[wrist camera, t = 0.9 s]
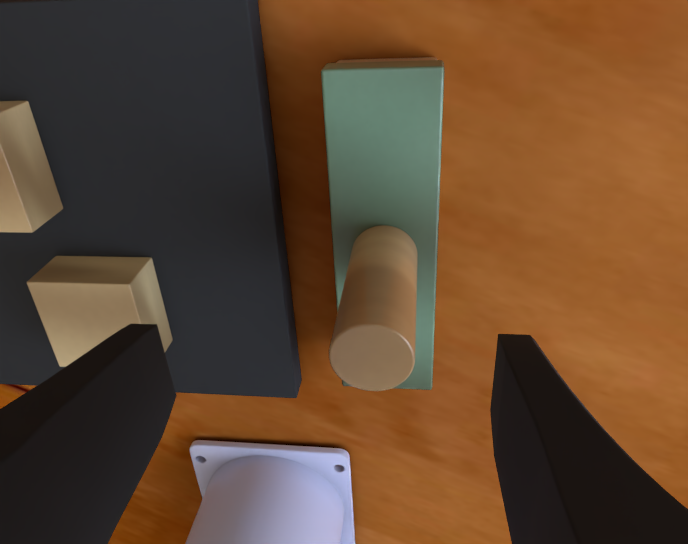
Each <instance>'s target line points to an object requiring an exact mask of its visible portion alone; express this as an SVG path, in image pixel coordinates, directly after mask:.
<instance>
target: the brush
mask: <svg viewBox="0 0 688 544" xmlns="http://www.w3.org/2000/svg"><path fill="white" fill-rule="evenodd" d="M321 79H322V94H323V108H324V123H325V138H326V152H327V167H328V182H329V196H330V211H331V226H332V240H333V255H334V270H335V285H336V299H337V317H336V322H335V326H334V331H333V335H332V339H331V344H330V349H329V360H330V363H331V366H332V368H333V370H334V371H335V373H336V374H337V375H338V376H339V377H340V378H341V379H342V384H343V386H353V387H356V388H359V389H362V390H367V391H382V390H387V389H391V388H400V389H422V390H431V389H432V380H433V354H434V327H435V301H436V275H437V249H438V222H439V196H440V170H441V143H442V117H443V91H444V63H443V61H442V60H437V58H435V57H423V58H389V59H354V60H338V61H337V63H327V64H326V65H325V66H324V68H323V69H322V71H321Z"/></svg>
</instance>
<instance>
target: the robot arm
mask: <svg viewBox="0 0 688 544" xmlns="http://www.w3.org/2000/svg"><path fill="white" fill-rule="evenodd" d="M175 398H176V392H175V389H174V385H173V381H172V378H171V374H170V370H169V367H168V363H167V359H166V356H165V352H164V348H163V344H162V341H161V337H160V333H159V330H158V326H157V324H129V325H127V326H126V327H124V328H122V329H121V330H119V331H118V332H116V333H114V334H113V335H111V336H110V337H108V338H107V339H105V340H104V341H102V342H101V343H100V344H98V345H97V346H95V347H94V348H92V349H91V350H89V351H88V352H87V353H85V354H84V355H82V356H81V357H79V358H78V359H76V360H75V361H73V362H72V363H70V364H69V365H68V366H66V367H65V368H63V369H62V370H60V371H59V372H57V373H56V374H54V375H53V376H51V377H50V378H49V379H47V380H46V381H44V382H42V383H41V384H39V385H38V386H36V387H35V388H33V389H31V390H30V391H28V392H27V393H25V394H24V395H22V396H20V397H19V398H17V399H16V400H14V401H12V402H11V403H9V404H8V405H6V406H5V407H3V408H1V409H0V544H108V542H109V540H110V538H111V536H112V533H113V531H114V529H115V527H116V525H117V523H118V522H119V520H120V518H121V516H122V514H123V512H124V510H125V508H126V506H127V504H128V502H129V500H130V498H131V497H132V495H133V493H134V491H135V489H136V487H137V485H138V483H139V481H140V479H141V477H142V475H143V473H144V472H145V470H146V468H147V466H148V464H149V462H150V460H151V458H152V456H153V454H154V452H155V450H156V448H157V446H158V444H159V442H160V440H161V438H162V435H163V432H164V430H165V427H166V424H167V422H168V419H169V416H170V413H171V410H172V407H173V404H174V401H175ZM491 423H492V435H493V447H494V457H495V462H496V467H497V472H498V477H499V482H500V487H501V492H502V497H503V502H504V507H505V511H506V516H507V521H508V526H509V531H510V536H511V541H512V544H688V509H687V508H686V507H684V506H683V505H682V504H681V503H679V502H678V501H677V500H676V499H675V498H674V497H673V496H671V495H670V494H669V493H668V492H667V491H666V490H664V489H663V488H662V487H661V486H660V485H659V484H658V483H657V482H656V481H655V480H654V479H653V478H651V477H650V476H649V475H648V474H647V473H646V472H645V471H644V470H643V469H642V468H641V467H640V466H639V465H638V464H637V463H636V462H635V461H634V460H633V459H632V458H631V457H630V456H629V455H628V454H627V453H626V452H625V451H624V450H623V449H622V448H621V447H620V446H619V445H618V444H617V443H616V442H615V440H614V439H613V438H612V437H611V436H610V435H609V434H608V433H607V432H606V431H605V430H604V429H603V427H602V426H601V425H600V424H599V423H598V422H597V421H596V419H595V418H594V417H593V416H592V415H591V414H590V412H589V411H588V410H587V409H586V408H585V406H584V405H583V404H582V403H581V402H580V400H579V399H578V398H577V397H576V395H575V394H574V393H573V392H572V391H571V389H570V388H569V387H568V385H567V384H566V383H565V382H564V380H563V379H562V378H561V376H560V375H559V374H558V372H557V371H556V370H555V368H554V367H553V365H552V364H551V363H550V361H549V360H548V359H547V357H546V356H545V354H544V353H543V351H542V350H541V348H540V347H539V346H538V344H537V343H536V341H535V340H534V339H533V338H532V337H531V336H530V335H515V334H498V342H497V351H496V361H495V371H494V380H493V390H492V400H491ZM190 455H191V458H192V462H193V466H194V469H195V473H196V477H197V481H198V484H199V488H200V492H201V495H202V502H201V505H200V507H199V510H198V512H197V515H196V517H195V520H194V523H193V525H192V528H191V530H190V533H189V535H188V538H187V541H186V543H185V544H355V531H354V516H353V500H352V485H351V469H350V456H349V453H348V452H347V451H346V450H344V449H340V448H326V447H310V446H293V445H276V444H259V443H243V442H226V441H209V440H196V441H194V442H193V443H192V444H191V446H190ZM340 465H341V466H340Z"/></svg>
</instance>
